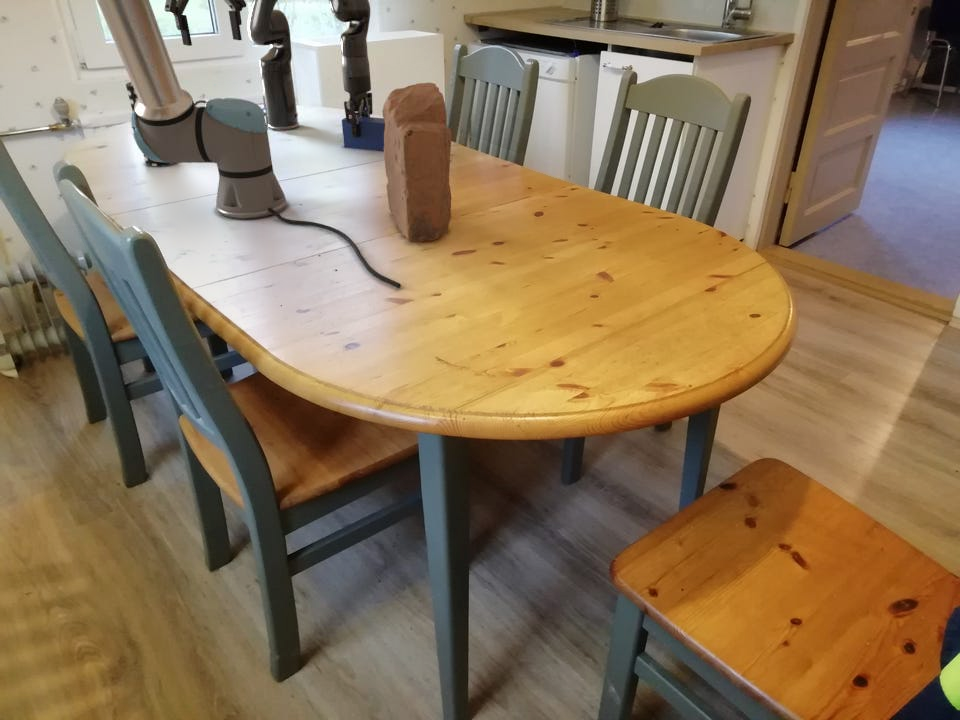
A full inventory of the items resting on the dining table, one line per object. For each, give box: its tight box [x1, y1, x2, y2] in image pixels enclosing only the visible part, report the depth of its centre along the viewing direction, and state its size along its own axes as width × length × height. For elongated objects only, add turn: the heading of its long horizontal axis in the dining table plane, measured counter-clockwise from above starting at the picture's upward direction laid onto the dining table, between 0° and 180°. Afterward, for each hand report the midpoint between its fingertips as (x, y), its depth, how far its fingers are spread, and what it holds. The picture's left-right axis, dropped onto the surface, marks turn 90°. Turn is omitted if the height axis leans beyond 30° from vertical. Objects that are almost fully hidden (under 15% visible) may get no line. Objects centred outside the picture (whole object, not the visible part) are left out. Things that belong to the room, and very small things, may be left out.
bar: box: [341, 115, 385, 152], centre depth 198 cm, size 25×5×8 cm, turn 74°
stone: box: [381, 82, 452, 243], centre depth 143 cm, size 22×11×28 cm, turn 18°
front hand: (213, 42), depth 170 cm, fingers open, 13 cm apart
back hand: (361, 134), depth 200 cm, fingers open, 6 cm apart
